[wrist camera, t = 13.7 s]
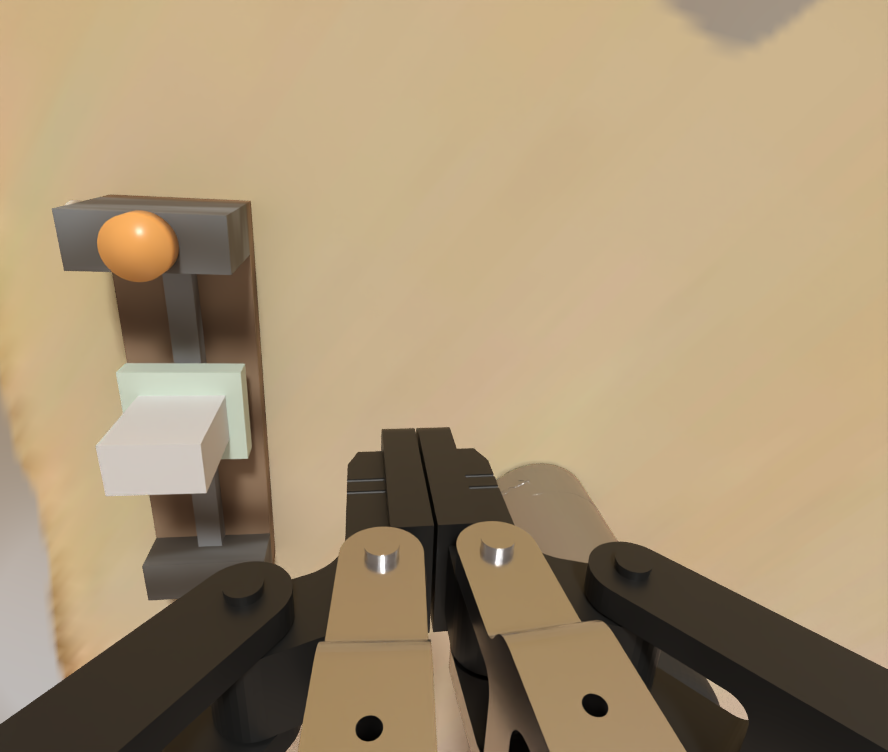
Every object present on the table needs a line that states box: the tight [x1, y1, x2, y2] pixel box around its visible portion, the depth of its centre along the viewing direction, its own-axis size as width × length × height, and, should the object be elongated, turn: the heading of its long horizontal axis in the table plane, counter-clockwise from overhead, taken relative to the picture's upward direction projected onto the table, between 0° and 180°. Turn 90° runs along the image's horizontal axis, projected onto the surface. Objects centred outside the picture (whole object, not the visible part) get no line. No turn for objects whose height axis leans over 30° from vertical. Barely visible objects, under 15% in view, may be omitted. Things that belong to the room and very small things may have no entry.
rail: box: [52, 195, 275, 600], centre depth 36 cm, size 27×8×7 cm, turn 177°
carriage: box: [96, 363, 252, 496], centre depth 33 cm, size 6×7×8 cm
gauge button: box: [97, 210, 179, 282], centre depth 28 cm, size 3×3×2 cm
